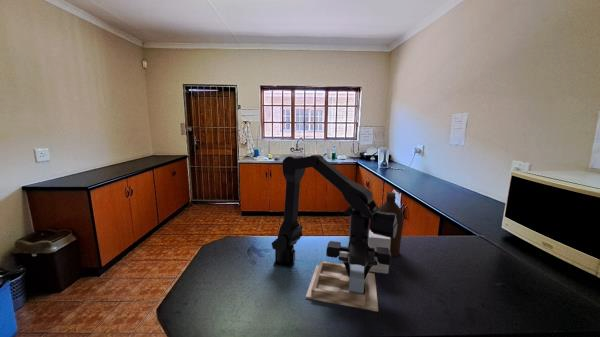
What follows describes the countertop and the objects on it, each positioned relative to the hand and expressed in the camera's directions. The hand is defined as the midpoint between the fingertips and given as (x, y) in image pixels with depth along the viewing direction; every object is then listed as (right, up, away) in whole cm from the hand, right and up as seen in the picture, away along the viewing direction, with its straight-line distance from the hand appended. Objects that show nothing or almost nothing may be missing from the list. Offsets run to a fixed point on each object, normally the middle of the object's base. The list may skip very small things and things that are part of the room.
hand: (356, 278), depth 74 cm
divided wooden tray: (-4, -3, +1) cm, 5 cm away
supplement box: (+10, -2, +13) cm, 16 cm away
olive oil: (+18, -1, +25) cm, 31 cm away
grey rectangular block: (0, -3, 0) cm, 3 cm away
